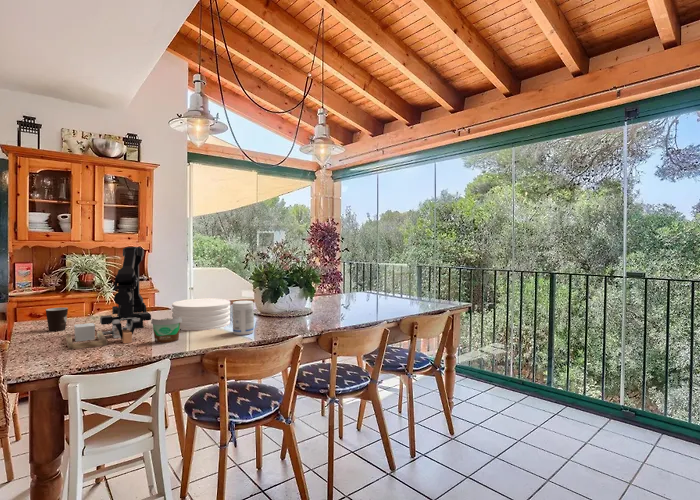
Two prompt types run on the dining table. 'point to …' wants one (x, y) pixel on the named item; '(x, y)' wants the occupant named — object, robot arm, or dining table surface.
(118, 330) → the robot arm
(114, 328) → the block
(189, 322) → the plate stack
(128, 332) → the crank handle
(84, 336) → the tilted light grey box
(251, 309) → the supplement tub
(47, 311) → the coffee mug
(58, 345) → the dining table surface
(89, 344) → the bay
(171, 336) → the food container
